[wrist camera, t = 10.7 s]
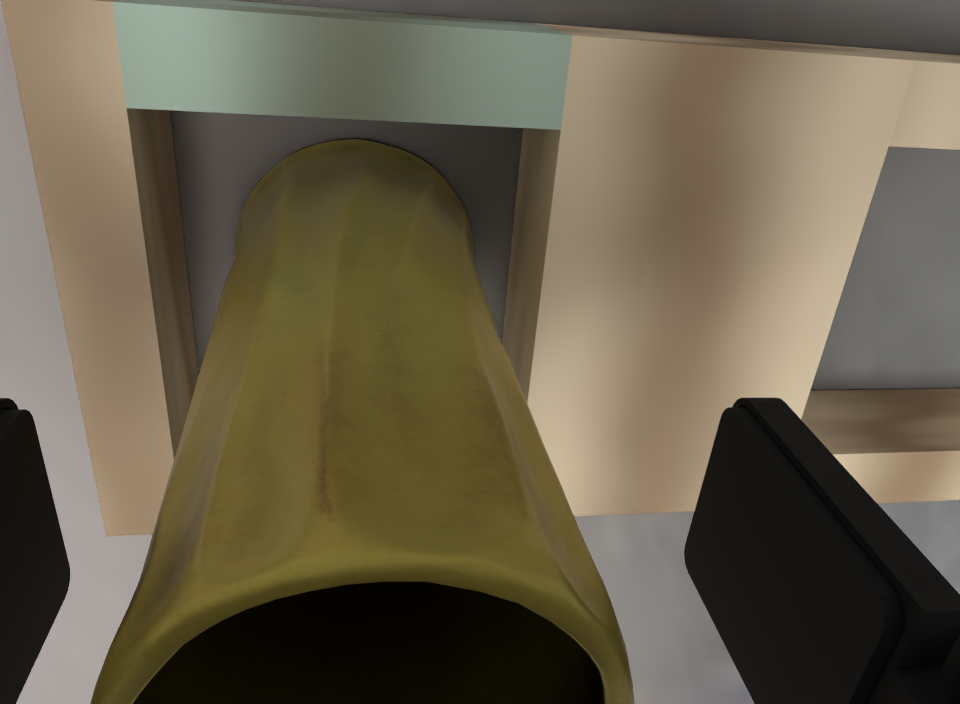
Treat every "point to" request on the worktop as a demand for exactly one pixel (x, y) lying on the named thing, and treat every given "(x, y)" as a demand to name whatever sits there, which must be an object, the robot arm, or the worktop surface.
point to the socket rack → (536, 229)
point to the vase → (362, 476)
